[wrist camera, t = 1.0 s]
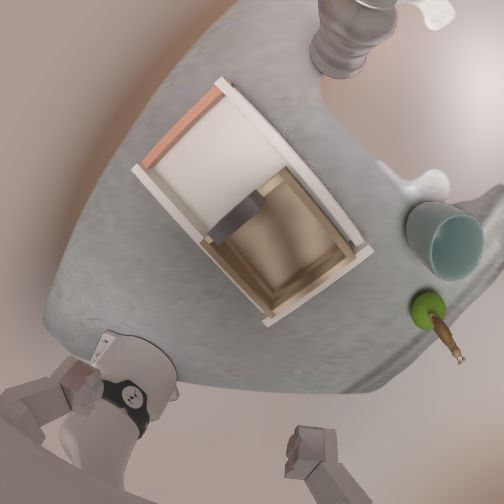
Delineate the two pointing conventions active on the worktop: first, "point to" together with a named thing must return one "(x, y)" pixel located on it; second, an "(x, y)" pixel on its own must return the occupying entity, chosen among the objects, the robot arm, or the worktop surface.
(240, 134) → the white tray
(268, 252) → the drawer
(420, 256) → the cup
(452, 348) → the snail figurine
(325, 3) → the plastic bottle
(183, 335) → the worktop surface
